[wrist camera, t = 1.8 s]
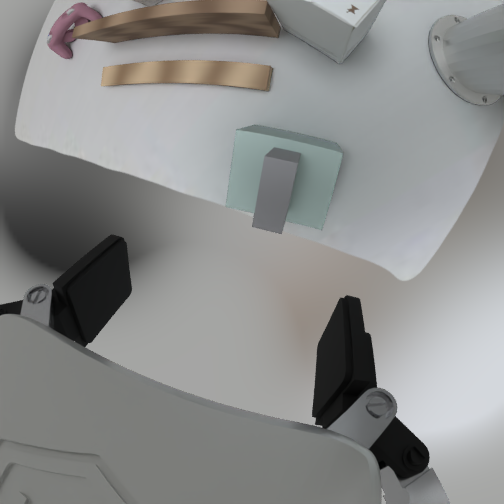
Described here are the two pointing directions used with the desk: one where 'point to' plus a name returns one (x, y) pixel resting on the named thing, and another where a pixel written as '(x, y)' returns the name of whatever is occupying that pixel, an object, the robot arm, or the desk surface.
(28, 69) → the desk surface
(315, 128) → the desk surface
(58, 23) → the video game controller
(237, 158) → the mint green block
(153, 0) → the ink cartridge box
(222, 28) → the curved brown board
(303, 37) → the skincare box
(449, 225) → the desk surface
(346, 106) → the desk surface
